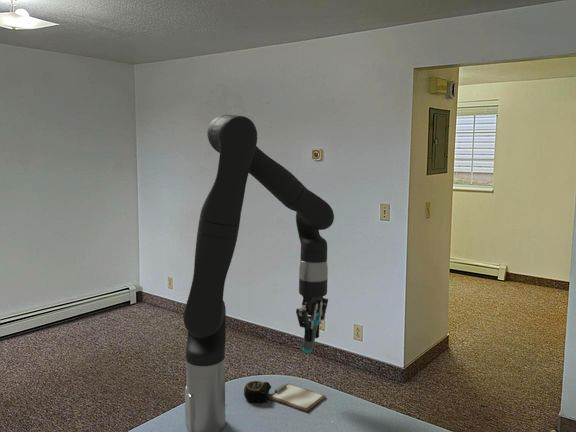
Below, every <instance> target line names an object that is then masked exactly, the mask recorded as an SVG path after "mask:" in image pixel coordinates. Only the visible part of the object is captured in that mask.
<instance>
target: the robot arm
mask: <svg viewBox="0 0 576 432" xmlns="http://www.w3.org/2000/svg"><path fill="white" fill-rule="evenodd" d="M207 140H208V142H209V144H210V147H212V149H214V150H215V151H216V152H217V153H219V158H218V159H219V160H218V166H217V173H216V176H215V179H214V182H213V184H212V187H211V189H210V191H209V193H208V194H207V196H206V198H205V200H204V203H203V204H202V207H201V210H200V216H199V220H198V226H197V234H196V242H195V250H194V266H193V267H194V268H193V275H192V281H191V286H190V290H189V293H188V297H187V301H186V305H185V306H184V307H185V308H184V311H183V316H182V318H183V323H184V326H185V329H186V330H187V339H186V348H185V365H186V369H185V370H186V371H185V372H186V373H185V374H186V386H184V409H185V412H184V413H185V414H184V415H185V417H184V419H185V421H184V422H185V425H186V428H187V430H188V432H221V431H222V430H223V429H224V428H225V426H226V358H225V357H226V353H225V352H226V343H227V342H226V338H227V337H226V336H227V335H226V333H227V331H226V329H227V328H226V326H227V325H226V324H227V320H226V317H227V315H226V314H227V313H226V305H225V301H224V290H225V284H226V279H227V277H228V276H227V275H228V271H229V269H230V266H231V263H232V259H233V256H234V253H235V250H236V245H237V242H238V238H239V237H238V236H239V230H240V223H241V215H242V210H243V204H244V200H245V195H246V194H245V192H246V188H247V187H246V186H247V181H248V178H249V175H251V176H252V177H253V178H254V179H256V181H258V183H260V185H262V186H263V187H264V188H265V189H266V190H267V191H268V192H270V194H272V195H273V196H274V197H275V198H276V199H277V200H278V201H279V202H280V203H281V204H282V205H284V207H286V208H287V209H289V210H290V211H294V212H296V213H295V223H296V224H295V225H296V228H297V233H298V239H299V241H300V260H299V261H300V262H299V267H298V268H299V269H298V270H299V272H298V293H299V295H300V296H302V302H301V307H300V308H296V310H295V312H296V317H297V321H298V325H299V327H300V328H303V329H304V335H305V338H304V337H303V340H304V339H305V341H307V342H312V341H313V324H314V320H315V319H318V320H319V323H318V327H317V332H316V337H315V339H318V338H319V337H320V325H321V324H322V321H324V320H325V316H326V312H327V307H328V302H329V299H328V298H326V295H327V293H328V277H329V275H328V273H329V269H328V243H327V240H326V239H325V238H323V236H321V234H320V231H324V230H328V229H329V228H330V227H331V226H332V225H333V223H334V220H335V214H334V213H335V212H334V210H333V208H332V207H331V205H330V204H329V203H328V202H327V201H326V200H324V199H323V198H321V197H320V196H319V195H317V194H316V193H315V192H312V191H311V190H309V188H307V187H306V185H304V184H303V182H301V181H300V180H299V178H297V177H296V176H295V175H294V174H293V173H292V172H291V171H290V170H288V169H287V168H286V167H285V166H283V165H281V164H280V163H279V162H277V161H276V160H274V159H272V158H271V156H269V155H267V154H266V153H265V152H264V151H262V150H261V149H260V148H259V147H258V146H257V144H258V130H257V127H256V125H255V123H254V121H252V119H250V118H249V117H246V116H243V115H236V114H235V115H234V114H233V115H232V114H223V115H219V116H217V117H215V118H214V119H213V120H212V121H211V122H210V123H209V125H208V128H207ZM309 320H310V323H309Z"/></svg>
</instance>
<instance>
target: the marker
mask: <svg viewBox="0 0 576 432" xmlns="http://www.w3.org/2000/svg"><path fill="white" fill-rule="evenodd" d="M309 323H310V320H309ZM318 323H319V320H318V319H315V320H314V324H313V341H312V342H307V341H305V339H304V338H305V334H304V335H303V340H302V352H304V353H306V354H310V353H312V350H313V349H314V346H315V341H316V338H315V337H316V332H317V327H318Z"/></svg>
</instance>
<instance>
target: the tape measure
mask: <svg viewBox="0 0 576 432" xmlns="http://www.w3.org/2000/svg"><path fill="white" fill-rule="evenodd" d="M271 389H272V385H270V382H269V381H264V382H262V381H260V380H252V381H248V383H246V384H245V386H244V389H243V396H244V398H245V399H246V400H247V401H249V402H252V403H259V402H260V403H263V402H266V401H268V400H267V398H268V395H269V393H270V390H271Z"/></svg>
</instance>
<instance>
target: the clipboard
mask: <svg viewBox="0 0 576 432" xmlns="http://www.w3.org/2000/svg"><path fill="white" fill-rule="evenodd" d="M267 398H268V400H270V401H272V400H273V402H276V403H279V404H282V405H284V406H287V407H290V408H293V409H295V410H298V411H301V412H304V413H307V414H308V413H309V412H310V411H311V410H312V409H314V408H315V407H316V406H318V405H319V404H320V403H321V402H322V401H324V400H325V399H326V398H327V395H325V394H322V393H319V392H316V391H313V390H309V389H307V388H303V387H301V386H298V385H295V384H291V383H287V384H285V383H283V384H281V385H280V386H278V387H276V388H275V389H274V392H273V393H272V394H270V395H269V396H267Z"/></svg>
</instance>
